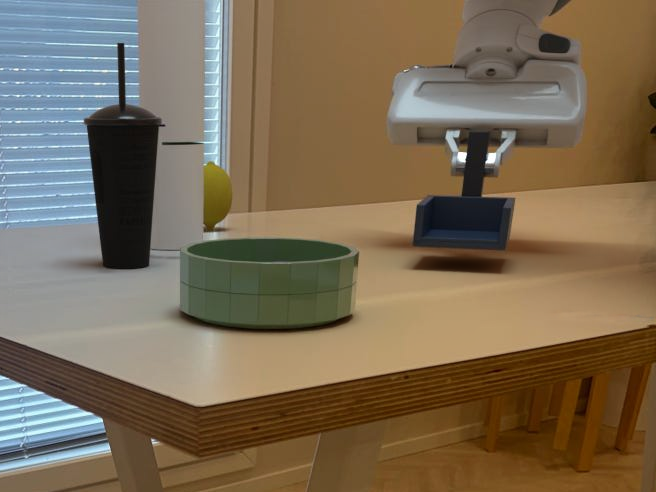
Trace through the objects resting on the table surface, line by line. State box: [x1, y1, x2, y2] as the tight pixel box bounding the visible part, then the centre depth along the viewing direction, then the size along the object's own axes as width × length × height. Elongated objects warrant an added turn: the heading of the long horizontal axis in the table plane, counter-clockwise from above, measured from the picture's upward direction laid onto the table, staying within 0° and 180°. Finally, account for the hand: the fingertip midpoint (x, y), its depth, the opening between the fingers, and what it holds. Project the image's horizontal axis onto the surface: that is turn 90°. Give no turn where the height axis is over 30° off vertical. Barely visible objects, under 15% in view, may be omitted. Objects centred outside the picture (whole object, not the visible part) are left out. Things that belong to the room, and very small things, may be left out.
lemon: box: [203, 160, 233, 231], centre depth 130 cm, size 6×6×8 cm
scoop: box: [412, 131, 516, 251], centre depth 104 cm, size 9×12×10 cm
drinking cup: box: [83, 42, 162, 270], centre depth 102 cm, size 8×8×20 cm
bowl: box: [179, 236, 360, 330], centre depth 83 cm, size 14×14×5 cm
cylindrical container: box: [137, 0, 206, 251], centre depth 113 cm, size 7×7×25 cm
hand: (474, 173), depth 107 cm, fingers closed on scoop
